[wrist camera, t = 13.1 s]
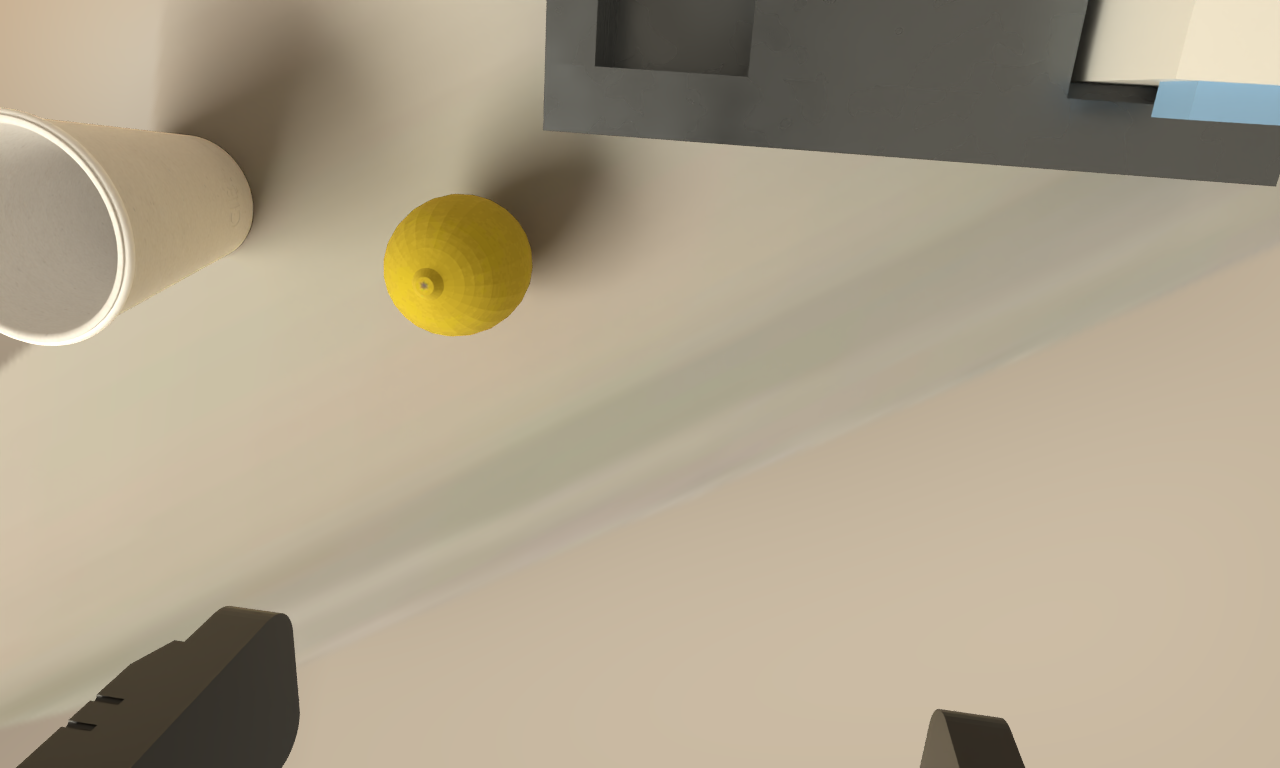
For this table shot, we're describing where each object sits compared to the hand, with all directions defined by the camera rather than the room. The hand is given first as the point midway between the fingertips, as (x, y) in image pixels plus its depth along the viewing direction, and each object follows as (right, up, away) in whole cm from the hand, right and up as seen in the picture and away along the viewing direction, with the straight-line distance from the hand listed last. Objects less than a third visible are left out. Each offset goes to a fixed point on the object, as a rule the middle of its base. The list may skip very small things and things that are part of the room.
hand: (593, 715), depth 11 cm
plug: (+18, +17, +20) cm, 32 cm away
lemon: (-6, +10, +28) cm, 30 cm away
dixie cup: (-20, +13, +29) cm, 37 cm away
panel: (+10, +18, +22) cm, 31 cm away
